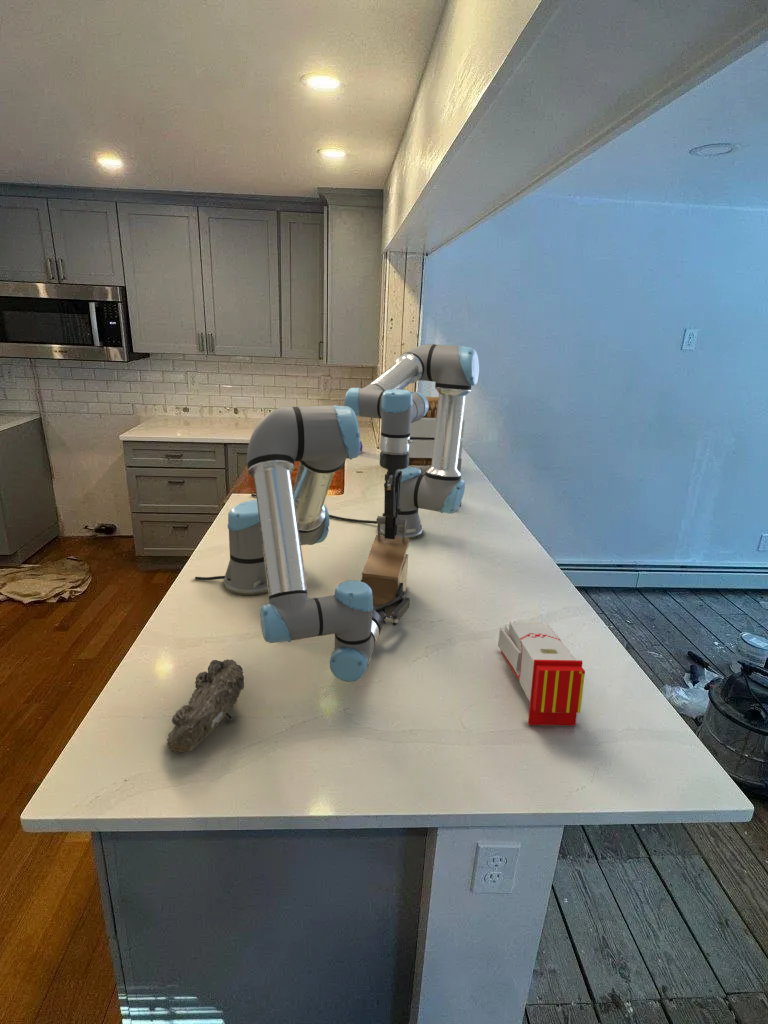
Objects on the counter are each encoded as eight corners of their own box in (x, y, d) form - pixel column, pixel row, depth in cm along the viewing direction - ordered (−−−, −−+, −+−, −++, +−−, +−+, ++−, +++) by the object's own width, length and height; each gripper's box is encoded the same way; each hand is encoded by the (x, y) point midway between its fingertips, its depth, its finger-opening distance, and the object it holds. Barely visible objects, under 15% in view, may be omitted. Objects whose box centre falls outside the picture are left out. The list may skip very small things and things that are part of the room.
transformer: (382, 463, 289) (386, 382, 275) (445, 464, 293) (451, 384, 279) (390, 482, 257) (394, 392, 243) (460, 483, 261) (468, 394, 247)
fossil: (192, 660, 117) (244, 628, 112) (224, 691, 120) (276, 661, 115) (142, 746, 98) (202, 712, 93) (182, 779, 101) (242, 748, 96)
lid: (376, 537, 158) (375, 512, 154) (409, 541, 156) (410, 515, 152) (361, 576, 143) (361, 549, 139) (398, 580, 142) (398, 553, 137)
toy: (544, 607, 134) (594, 667, 105) (539, 659, 137) (586, 732, 108) (493, 606, 134) (529, 666, 105) (489, 658, 137) (523, 731, 107)
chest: (374, 584, 163) (375, 550, 159) (406, 588, 161) (408, 554, 157) (360, 613, 147) (361, 576, 143) (396, 618, 145) (398, 581, 142)
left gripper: (315, 637, 130) (341, 592, 151) (410, 651, 126) (423, 603, 147) (315, 608, 127) (341, 566, 148) (412, 621, 124) (425, 577, 144)
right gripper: (404, 460, 137) (399, 549, 146) (413, 446, 151) (408, 527, 160) (374, 457, 139) (371, 545, 147) (385, 443, 153) (382, 524, 161)
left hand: (382, 585), depth 148 cm, fingers closed on chest, 9 cm apart
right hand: (390, 536), depth 153 cm, fingers closed on lid, 2 cm apart
